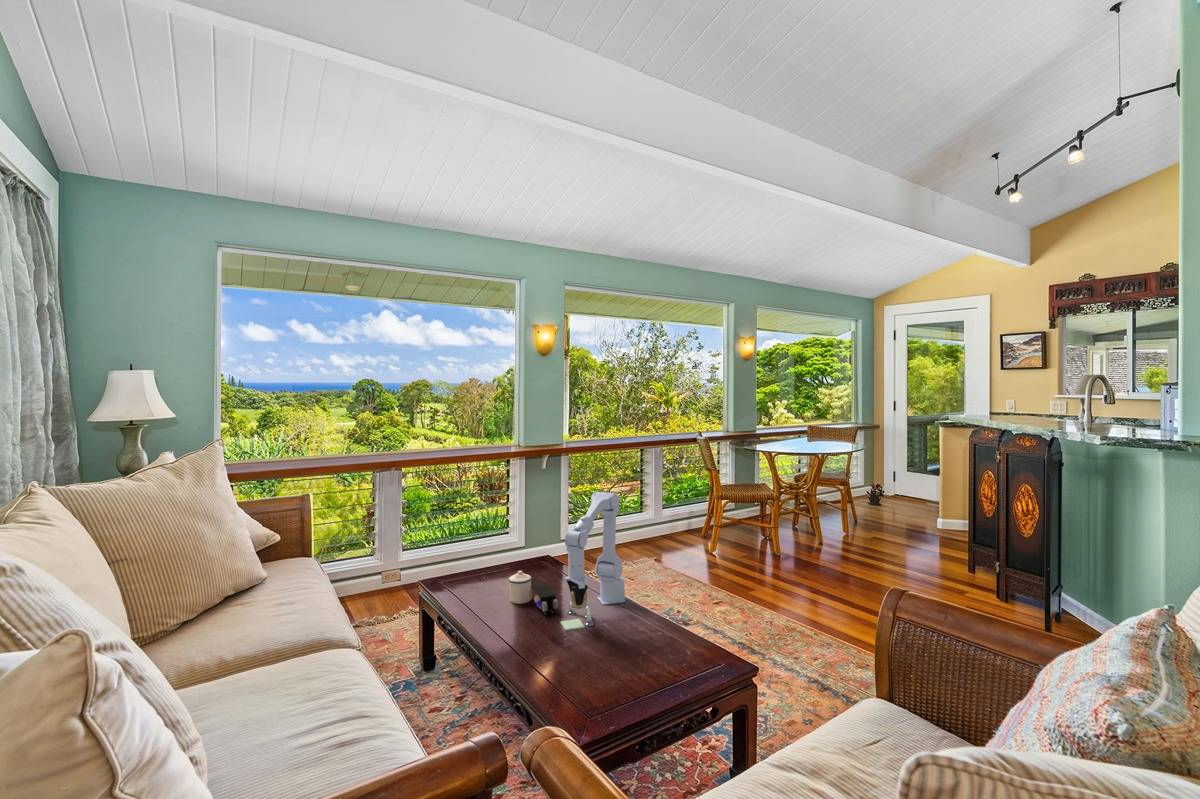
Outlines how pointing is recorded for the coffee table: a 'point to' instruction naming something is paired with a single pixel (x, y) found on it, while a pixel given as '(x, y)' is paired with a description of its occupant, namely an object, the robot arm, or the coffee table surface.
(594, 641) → the coffee table surface
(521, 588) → the teacup with lid
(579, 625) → the pad
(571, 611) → the grey piece
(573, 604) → the maple ring
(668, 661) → the coffee table surface
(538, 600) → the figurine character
